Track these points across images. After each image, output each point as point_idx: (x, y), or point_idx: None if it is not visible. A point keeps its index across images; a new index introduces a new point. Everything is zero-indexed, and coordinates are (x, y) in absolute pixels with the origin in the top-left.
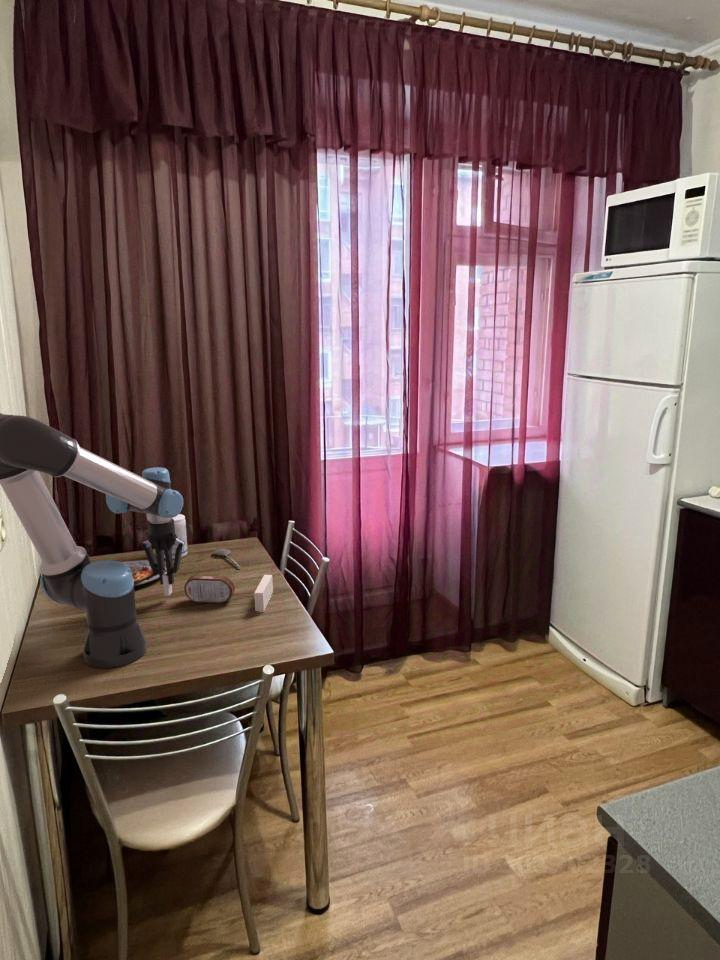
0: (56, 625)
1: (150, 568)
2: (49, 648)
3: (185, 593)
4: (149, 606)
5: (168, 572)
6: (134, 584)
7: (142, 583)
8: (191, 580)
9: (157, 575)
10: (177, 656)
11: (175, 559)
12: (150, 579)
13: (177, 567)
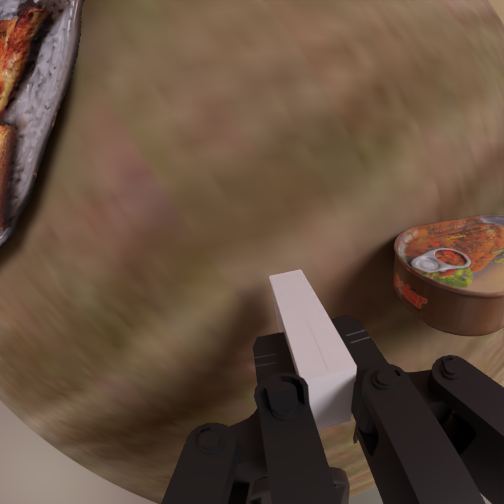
0: (74, 443)
1: (12, 7)
2: (156, 491)
3: (397, 294)
4: (218, 350)
5: (374, 435)
6: (13, 211)
7: (32, 178)
8: (478, 333)
9: (54, 47)
10: None
11: (492, 489)
12: (41, 109)
13: (467, 423)
